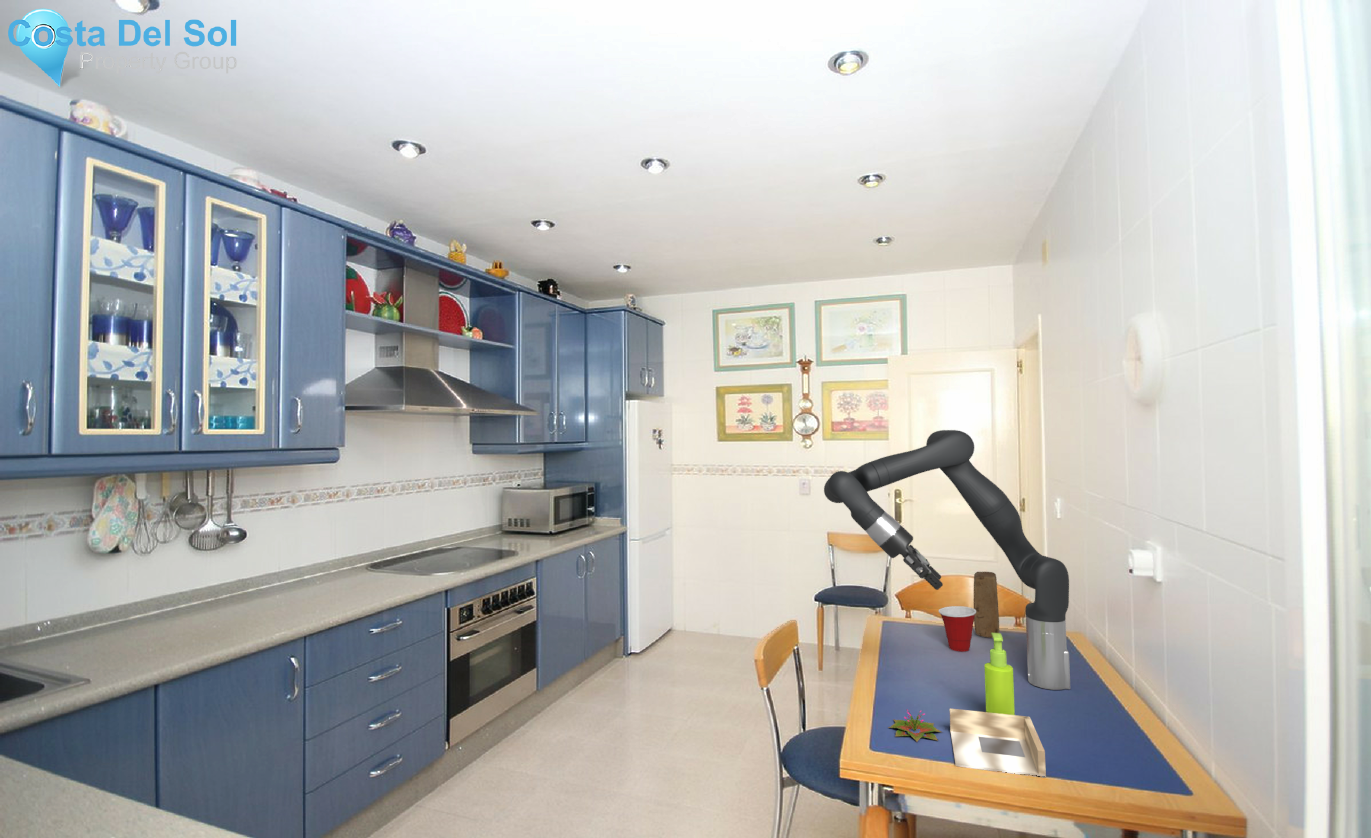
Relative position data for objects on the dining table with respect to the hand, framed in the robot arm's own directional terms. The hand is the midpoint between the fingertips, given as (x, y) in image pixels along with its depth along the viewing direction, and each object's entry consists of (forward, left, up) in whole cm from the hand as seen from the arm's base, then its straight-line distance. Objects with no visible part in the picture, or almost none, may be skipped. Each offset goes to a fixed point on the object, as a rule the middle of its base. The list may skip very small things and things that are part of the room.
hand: (939, 583), depth 157 cm
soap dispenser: (-12, +5, -30) cm, 33 cm away
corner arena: (-9, +20, -30) cm, 37 cm away
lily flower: (+7, +14, -31) cm, 34 cm away
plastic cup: (-7, -48, -30) cm, 57 cm away
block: (-17, -66, -30) cm, 74 cm away
